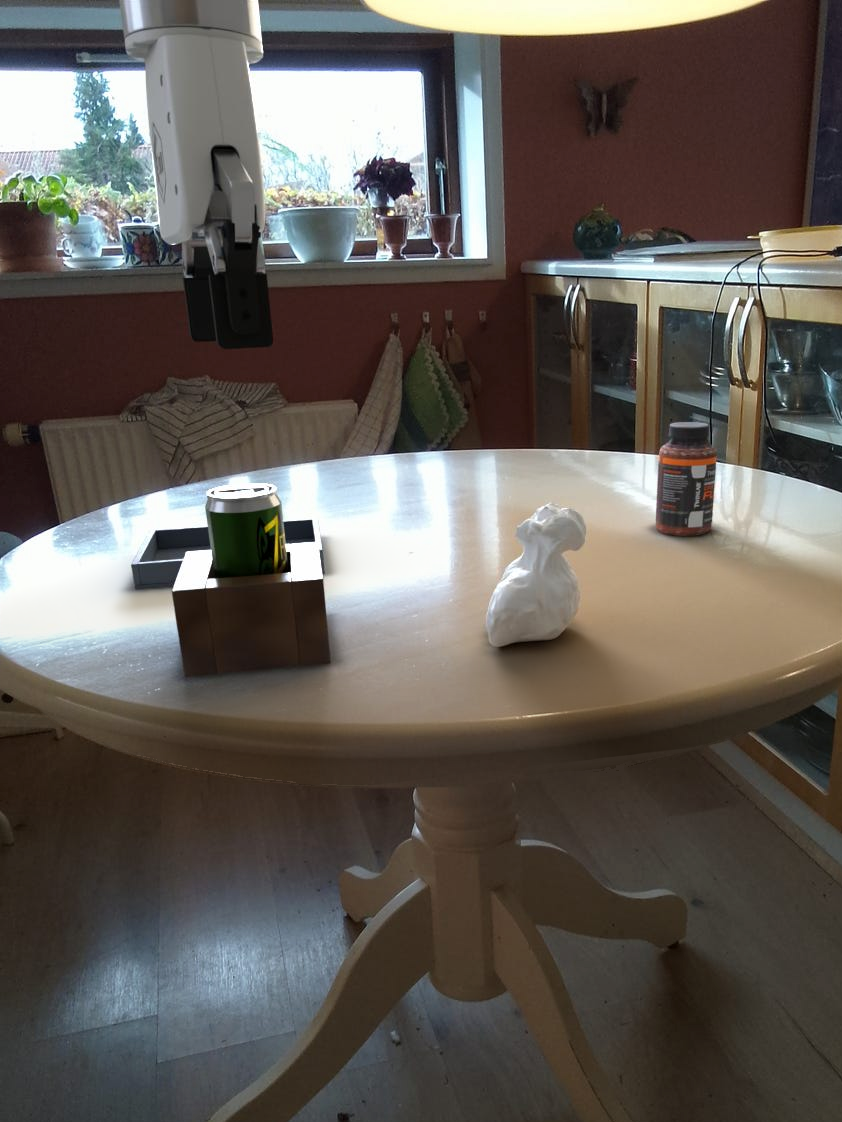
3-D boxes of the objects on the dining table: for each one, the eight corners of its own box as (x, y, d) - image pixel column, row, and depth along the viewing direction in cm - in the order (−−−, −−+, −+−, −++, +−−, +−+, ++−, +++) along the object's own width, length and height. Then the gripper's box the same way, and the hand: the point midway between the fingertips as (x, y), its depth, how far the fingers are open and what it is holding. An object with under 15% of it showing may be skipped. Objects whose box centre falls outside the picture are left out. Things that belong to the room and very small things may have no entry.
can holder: (184, 678, 65) (171, 591, 63) (197, 629, 74) (185, 551, 72) (331, 664, 67) (323, 578, 64) (325, 618, 76) (318, 541, 74)
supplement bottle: (712, 539, 96) (719, 428, 92) (653, 537, 97) (658, 428, 93) (711, 525, 101) (718, 420, 97) (656, 523, 102) (660, 419, 98)
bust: (512, 690, 67) (608, 581, 61) (433, 621, 67) (522, 507, 62) (560, 634, 77) (646, 536, 72) (491, 575, 78) (572, 473, 72)
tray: (135, 590, 84) (130, 564, 83) (153, 552, 96) (150, 529, 96) (324, 575, 87) (322, 549, 86) (319, 540, 99) (317, 517, 99)
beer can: (220, 661, 68) (197, 500, 63) (228, 636, 73) (208, 485, 68) (294, 656, 68) (277, 496, 64) (297, 631, 73) (282, 481, 69)
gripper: (109, 54, 58) (151, 341, 64) (139, -27, 43) (189, 355, 49) (230, 63, 61) (259, 336, 67) (297, -11, 46) (326, 347, 52)
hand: (229, 343), depth 58 cm, fingers open, 9 cm apart
